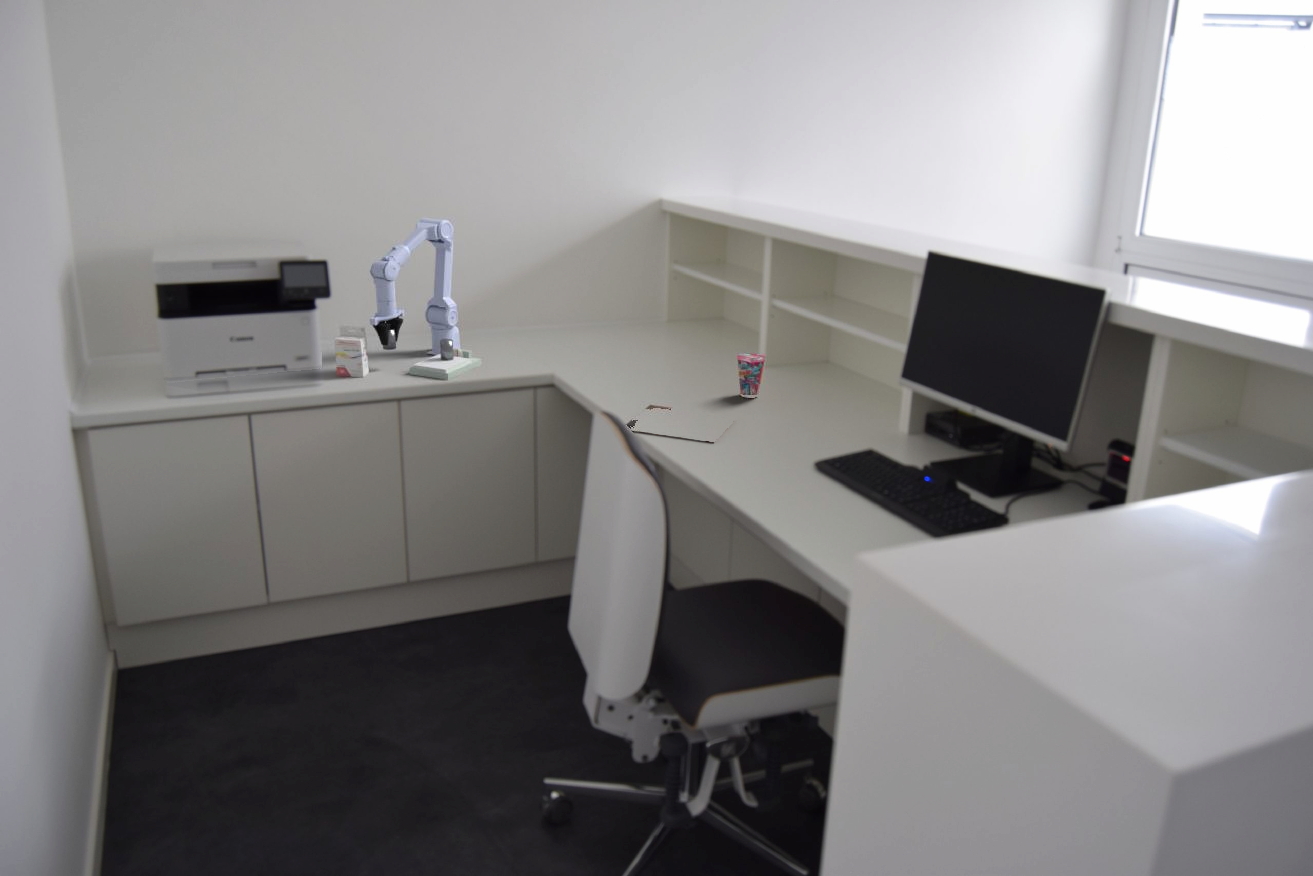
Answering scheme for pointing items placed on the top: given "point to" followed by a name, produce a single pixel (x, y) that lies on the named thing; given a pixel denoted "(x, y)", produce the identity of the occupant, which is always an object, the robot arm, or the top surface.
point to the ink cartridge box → (351, 352)
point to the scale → (446, 365)
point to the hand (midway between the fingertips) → (389, 343)
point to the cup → (750, 372)
